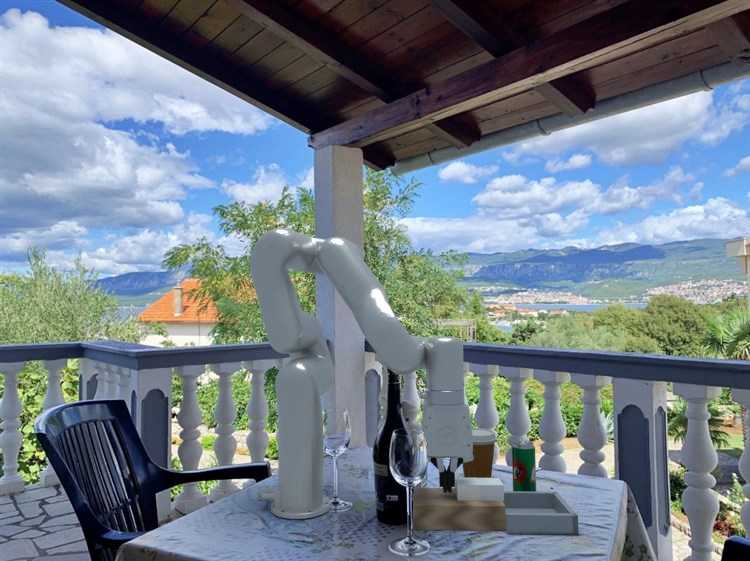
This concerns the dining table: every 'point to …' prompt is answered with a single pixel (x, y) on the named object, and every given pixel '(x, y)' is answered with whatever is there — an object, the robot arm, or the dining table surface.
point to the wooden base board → (455, 512)
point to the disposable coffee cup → (481, 454)
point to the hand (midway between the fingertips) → (447, 490)
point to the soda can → (524, 466)
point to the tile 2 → (491, 489)
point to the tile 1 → (467, 489)
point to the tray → (539, 514)
